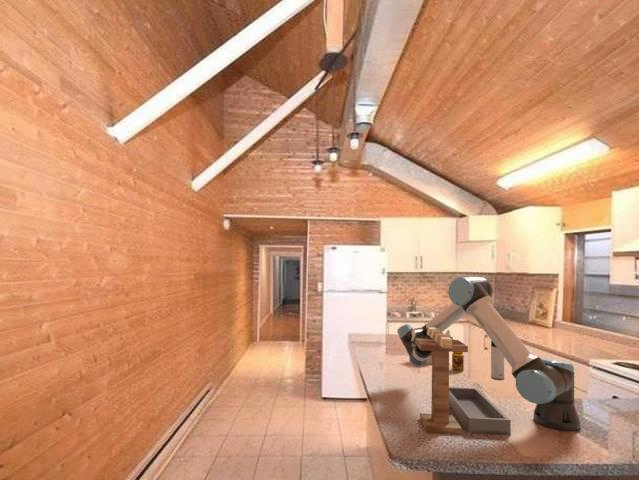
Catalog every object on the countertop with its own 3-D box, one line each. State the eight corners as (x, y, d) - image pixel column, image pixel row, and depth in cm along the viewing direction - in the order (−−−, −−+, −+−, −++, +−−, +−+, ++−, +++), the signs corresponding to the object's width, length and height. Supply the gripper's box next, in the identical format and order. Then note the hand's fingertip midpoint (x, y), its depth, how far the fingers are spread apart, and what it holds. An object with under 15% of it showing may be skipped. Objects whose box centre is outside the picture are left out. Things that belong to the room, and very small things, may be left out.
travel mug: (504, 381, 200) (504, 341, 201) (490, 379, 204) (490, 340, 205) (505, 378, 205) (505, 339, 207) (492, 376, 209) (491, 338, 210)
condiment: (457, 372, 214) (457, 350, 215) (446, 368, 222) (446, 347, 223) (467, 371, 217) (467, 349, 218) (456, 367, 225) (456, 346, 226)
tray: (443, 398, 172) (444, 386, 172) (476, 400, 171) (476, 388, 171) (469, 432, 137) (469, 418, 137) (510, 434, 136) (510, 420, 137)
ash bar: (427, 334, 160) (427, 326, 160) (434, 334, 160) (434, 327, 160) (443, 347, 134) (443, 339, 134) (452, 348, 134) (452, 339, 134)
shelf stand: (414, 418, 149) (415, 338, 150) (457, 420, 148) (457, 339, 149) (420, 432, 137) (421, 344, 138) (467, 434, 136) (467, 346, 137)
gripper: (452, 359, 171) (465, 343, 154) (394, 357, 173) (400, 340, 156) (450, 342, 176) (462, 324, 158) (393, 340, 177) (399, 322, 160)
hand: (431, 332), depth 157 cm, fingers open, 13 cm apart
